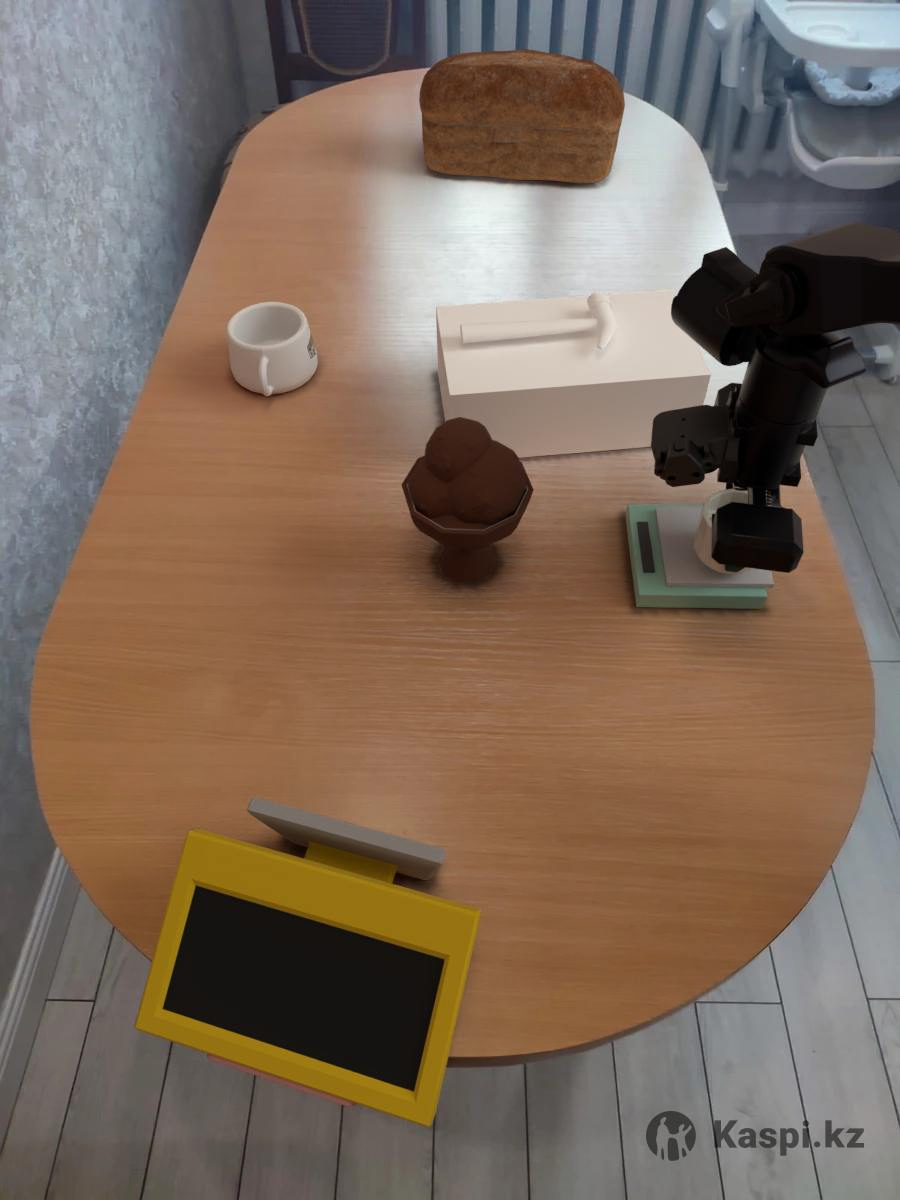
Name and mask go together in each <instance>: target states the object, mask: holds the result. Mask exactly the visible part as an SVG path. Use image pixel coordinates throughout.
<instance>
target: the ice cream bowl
mask: <svg viewBox="0 0 900 1200" xmlns="http://www.w3.org/2000/svg"><path fill="white" fill-rule="evenodd" d="M400 485H401V488H402V491H403V495H404V498H405V502H406V505H407V507H408V511H409V514H410V518H411V520H412V522H413V525H414V526H415V527H416V529H417V530H418V531H419V532H420V533H422V534H423V535H425V536H427V537H429V538H430V539H432V540H433V541H434V542H437V543H438V544H439V545H442V546H443V547H442V549H441V551H440V553H439V555H438V556H437V562H438V567H439V569H440V572H441V574H443V575H444V576H446V577H447V578H449V579H450V580H452V581H453V582H455V583H464V584H465V583H466V584H467V583H468V584H476V583H479V582H481V581H482V580H485V579H486V578H488V577H490V576H492V574H493V572H494V570H495V568H496V566H497V564H498V559H497V556H496V554H495V553H496V552H495V551H494V548H493V545H494V544H495V543H497V542H499V541H502V540H504V539H506V538H507V537H510V536H511V535H512V534H513V533H514V532H515V531H516V529H518V526H519V524H520V522H521V520H522V518H523V516H524V514H525V512H526V510H527V508H528V506H529V504H530V501H531V499H532V496H533V494H534V493H533V492H534V487H533V485H532V483H531V480H530V478H529V476H528V473H527V471H526V469H525V466H524V464H523V462H522V461H521V460H520V458H518V456H517V455H516V453H515V452H514V451H513V450H512V449H510V448H508V447H507V446H505V445H503V444H501V443H499V442H498V441H495V440H492V438H491V436H490V434H489V432H488V431H487V429H486V427H485V426H484V425H482V424H481V423H480V422H478V421H475V420H471V419H467V418H462V417H458V418H454V419H450V420H447V421H445V420H444V422H442V423H441V424H439V425H438V426H436V428H435V429H434V431H433V432H432V434H431V436H430V437H429V439H428V440H427V442H426V444H425V450H424V455H423V456H420V457H417V459H416V460H415V461H414V463H413V465H412V466H411V468H410V470H409V471H408V472H407V475H406V476H405V477H404V479H403V481H402V483H401V484H400Z"/></svg>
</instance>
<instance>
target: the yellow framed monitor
mask: <svg viewBox="0 0 900 1200" xmlns="http://www.w3.org/2000/svg"><path fill="white" fill-rule="evenodd" d="M246 811H247V812H248V813H249V815H250V816H252V817H253V818H255V819H256V820H258V821H259V822H261V823H262V824H264V825H265V826H267V827H268V828H270V829H271V830H273V831H275V832H276V833H277V834H279V835H280V836H282V837H283V838H285V839H286V840H287V841H289V842H291V843H292V844H295V845H298V846H301V847H304V848H307V850H306V851H305V852H306V853H305V854H304V858H303V857H299V856H296V855H292V854H289V853H285V852H282V851H278V850H275V849H271V848H268V847H264V846H260V845H258V844H254V843H250V842H247V841H243V840H240V839H237V838H232V837H229V836H226V835H222V834H218V833H215V832H211V831H208V830H205V829H202V828H196V829H192V830H189V831H188V832H186V834H185V839H184V841H183V842H184V843H183V846H182V849H181V852H180V857H179V860H178V865H177V868H176V871H175V874H174V875H175V876H174V879H173V882H172V887H171V890H170V894H169V896H168V897H169V898H168V901H167V905H166V909H165V912H164V915H163V919H162V923H161V927H160V930H159V934H158V938H157V940H156V941H157V942H156V944H155V948H154V952H153V956H152V960H151V964H150V966H149V971H148V974H147V977H146V982H145V985H144V988H143V993H142V996H141V1000H140V1003H139V1007H138V1011H137V1014H136V1018H135V1022H134V1028H135V1030H136V1031H139V1032H142V1033H145V1034H148V1035H151V1036H154V1037H156V1038H160V1039H163V1040H166V1041H168V1042H172V1043H174V1044H178V1045H181V1046H184V1047H187V1048H190V1049H192V1050H196V1051H199V1052H202V1053H204V1054H206V1057H207V1059H208V1060H209V1061H211V1062H214V1063H217V1064H220V1065H223V1066H226V1067H229V1068H232V1069H234V1070H238V1071H241V1072H244V1073H247V1074H250V1075H253V1076H256V1077H259V1078H262V1079H264V1080H268V1081H271V1082H274V1083H277V1084H280V1085H283V1086H286V1087H289V1088H292V1089H295V1090H297V1091H301V1092H303V1093H306V1094H309V1095H312V1096H315V1097H318V1098H321V1099H325V1100H327V1101H330V1102H333V1103H336V1104H339V1105H342V1106H345V1107H349V1108H350V1107H355V1106H356V1105H360V1106H363V1107H365V1108H367V1109H368V1108H369V1109H371V1110H374V1111H377V1112H381V1113H383V1114H387V1115H389V1116H392V1117H396V1118H398V1119H401V1120H403V1121H404V1120H405V1121H407V1122H410V1123H413V1124H416V1125H420V1126H422V1127H425V1128H429V1127H431V1126H432V1125H433V1122H434V1119H435V1116H436V1114H437V1107H438V1104H439V1100H440V1096H441V1091H442V1088H443V1087H442V1086H443V1083H444V1079H445V1074H446V1070H447V1066H448V1060H449V1057H450V1052H451V1049H452V1044H453V1038H454V1034H455V1030H456V1025H457V1021H458V1017H459V1012H460V1008H461V1005H462V1004H461V1003H462V999H463V996H464V992H465V986H466V981H467V978H468V973H469V969H470V965H471V961H472V956H473V952H474V947H475V943H476V938H477V934H478V930H479V925H480V922H481V916H482V911H481V909H480V908H478V907H475V906H472V905H469V904H466V903H461V902H458V901H454V900H451V899H447V898H444V897H440V896H436V895H433V894H429V893H426V892H424V891H423V892H422V891H419V890H415V889H412V888H408V887H405V886H401V885H398V884H394V879H395V876H396V873H397V874H401V875H404V876H408V877H410V878H411V877H412V878H414V879H418V880H422V881H428V880H430V879H432V877H433V876H434V875H435V874H436V872H438V870H439V869H440V868H441V867H442V866H443V864H444V861H445V857H446V854H447V853H446V850H445V848H442V847H439V846H435V845H431V844H428V843H424V842H420V841H417V840H414V839H409V838H406V837H402V836H398V835H395V834H391V833H389V832H388V833H387V832H384V831H380V830H377V829H373V828H369V827H365V826H362V825H359V824H354V823H351V822H347V821H343V820H341V819H340V820H339V819H336V818H332V817H329V816H326V815H321V814H318V813H314V812H311V811H307V810H303V809H299V808H296V807H292V806H289V805H285V804H281V803H279V802H278V803H277V802H274V801H270V800H266V799H263V798H260V797H255V796H254V797H252V798H251V799H250V801H249V803H248V805H247V808H246Z"/></svg>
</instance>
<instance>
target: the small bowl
mask: <svg viewBox="0 0 900 1200" xmlns="http://www.w3.org/2000/svg"><path fill="white" fill-rule="evenodd" d="M730 502H738V503H746V504H748V491H747V490H746V491H738V490H734V489H726V488H725V489H720V490H717V491H716V492H714V493H711V494H710V495H709V496H707V498H706V499H705V501H704V503H703V504H702V505H703V507H702V510H701V514H700V517H699V521H698V524H697V528H696V531H695V535H694V544H693V546H694V549H695V551H696V553H697V555H698V557H699V559H700V560H701V561H702V562H703V563H704V564H705V565H706V566H708V567H709V568H711V569H713V570H715V571H717V572H720V573H725V574H741V573H744V572H747V571H750V570H751V569H753V568H746V567H745V568H744V569H742V570H741V571H739V572H728V571H725V565H723V564H718V563H717V562H716V561H715V560H714V559H713V558H711V547H712V514H715V513H716V510H717V509H718V508H720V507H722V506H724V505H726V504H728V503H730ZM766 502H767V501H766Z"/></svg>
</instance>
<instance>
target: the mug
mask: <svg viewBox="0 0 900 1200" xmlns="http://www.w3.org/2000/svg"><path fill="white" fill-rule="evenodd" d="M226 340H227V347H228V356H229V365H230V370H231V373H232V376H233V379H234V380H235V381H236V383H238V384H239V385H240V386H241V387H243V388H244V389H246V390H249V391H250V392H253V393H257V394H261V395H263V396H264V397H269V396H271V395H277V394H284V393H287V392H292V391H294V390H296V389H298V388H301V387H302V386H303V385H305V384H307V382H309V381H310V380H311V378H312V377H313V375H314V374H315V373H316V372H317V368H318V365H319V361H318V352H317V348H316V345H315V342H314V339H313V335H312V332H311V329H310V325H309V322H308V319H307V318H306V315H305V313H304V311H302V310H301V309H300V308H299V307H297V306H294V305H292V304H290V303H286V302H282V301H266V302H265V301H264V302H259V303H255V304H251V305H248V306H246V307H244V308H242V309H240V310H238V311H237V312H235V313H234V314H233V316H232V317H231V318H230V319H229V320H228V322H227V325H226Z"/></svg>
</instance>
